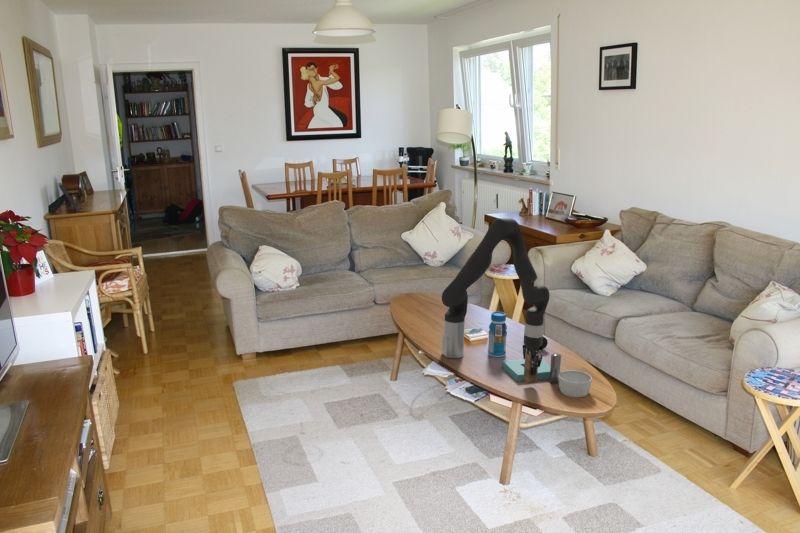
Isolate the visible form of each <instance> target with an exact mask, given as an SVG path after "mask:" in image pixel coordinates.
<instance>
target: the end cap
mask: <svg viewBox="0 0 800 533" xmlns="http://www.w3.org/2000/svg"><path fill="white" fill-rule="evenodd" d="M548 344H549V343H548V339H547V338H546V337H545V336H543V341H542V346H540V347H539V350H541V351H543V350H544V349H545V348H547V346H548Z"/></svg>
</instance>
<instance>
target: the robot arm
mask: <svg viewBox="0 0 800 533" xmlns="http://www.w3.org/2000/svg"><path fill="white" fill-rule="evenodd" d="M502 241H508V243H509V244H510V245H511V248H512V251H513V268H514V270H515V272H516V275H517V276H518V279H519V282H520V289H521V294H522V295H521V296H522V299H523V301H524V302H525V303H526V304H528V305H531V307H529V308H528V309H527V310H526V313H525V325H524V331H523V332H524V333H523V344H522V354H523V355H522V357H523V358H522V359H525V353H529V356H530V361H531V375H532V376H533V375H536V369H537V367H540V364H541V361H542V360H543V355H542V354H540V351H539V347H540V346H542V341H543V337H544V319H545V318H544V316H545V313H546V310H547V307H548V304H549V301H550V290H549V289H548V288H547V286H545V285H534V286H533V283H534V282H536V281H537V279H538V276H537V272H536V271H535V268H534V266H533V264H532V261H531V260H530V257H529V254H528V251H527V247H526V245H525V241H524V238H523V234H522V230H521V227H520V225H519V223H518V221H517V220H515V219H514V218H510V217H508V218H506V217H498V218H496V219H495V220H493V222H492V223H491V224H490V225H489V227H488V229H487V231H486V233H485V234H484V236H483V238H482V240H481V241H480V243H479V244H478V245H477V247H476V248H475V249H474V251H473V252H472V254H471V255H470V256H469V258H468V259H467V260H466V261H465V264H464V265H463V266H462V267H461V269H460V270H459V272H458V273H457V275H456V276H455V278H454V279H453V280H452V281H451V282H450V283H449V284H448V286H447V287H445V289H444V290H443V291H442V293H441V302H442V304H443V305H444V306H445V307H446V308H448V309H447V311H446V312H445V313H444V322H443V324H444V326H443V328H444V329H443V330H444V332H443V334H442V343H441V354H442V355H443V356H444V357H445V358H446V359H460V358H463V357H464V352H465V351H464V348H465V345H464V344H465V320H466V315H467V312H468V301H469V300H468V299H469V295H468V288H470V287H471V286H472V285H473V284H475V283H476V282H478V281H479V279H480V278H481V277H483V275H484V274H485V273H486V272H487V271H488V269H489V268H490V266H491V264H492V261H493V252H494V249H496V247H497V246H498V244H500V242H502ZM532 305H533V306H532ZM532 358H535V359H533V360H532ZM533 362H534V364H533Z"/></svg>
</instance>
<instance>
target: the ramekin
mask: <svg viewBox="0 0 800 533" xmlns="http://www.w3.org/2000/svg"><path fill="white" fill-rule="evenodd" d="M558 379H559V383H558V386H559V390H560V392H561V393H562V395H565V396H567V397H570V398H583V397H586V396H588V395H589V393H590V390H591V385H592V383H593V378H592V376H591V375H590V374H589V373H587V372H585V371H581V370H576V369H575V370H572V369H569V370H563V371H560V373H559V375H558Z"/></svg>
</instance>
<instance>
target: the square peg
mask: <svg viewBox="0 0 800 533" xmlns="http://www.w3.org/2000/svg"><path fill="white" fill-rule="evenodd" d="M533 359H535V358H532V360H533ZM533 364H534V362H533ZM537 372H538V367H537V369H536V375H533V376H532V375H531V361H530V356H529V353H525V366H524V381H523V382H525V383H527V384H529V385H530V384H537V383H538V382H537V381H538V379H537Z"/></svg>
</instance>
